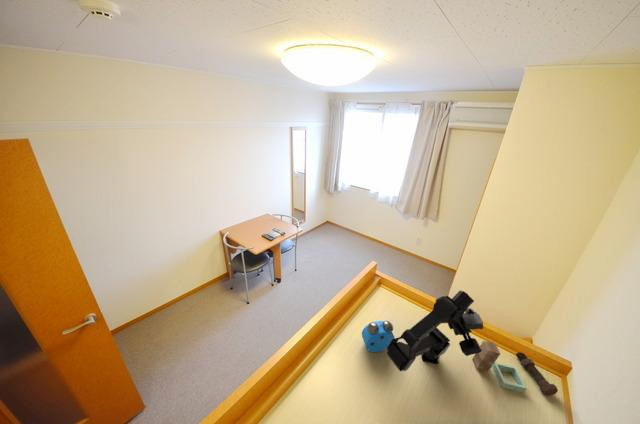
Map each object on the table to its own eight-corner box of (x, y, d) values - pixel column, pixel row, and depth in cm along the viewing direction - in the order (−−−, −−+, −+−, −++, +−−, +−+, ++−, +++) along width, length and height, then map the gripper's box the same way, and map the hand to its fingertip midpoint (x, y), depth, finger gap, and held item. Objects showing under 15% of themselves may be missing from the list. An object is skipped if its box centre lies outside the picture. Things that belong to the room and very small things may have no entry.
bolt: (517, 358, 101) (548, 397, 88) (510, 355, 100) (540, 393, 86) (528, 351, 99) (561, 390, 86) (521, 347, 98) (553, 386, 84)
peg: (476, 369, 94) (488, 350, 88) (472, 358, 98) (483, 340, 92) (487, 372, 94) (500, 353, 88) (483, 361, 97) (495, 343, 92)
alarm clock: (385, 337, 105) (392, 316, 98) (391, 350, 100) (398, 328, 93) (359, 341, 103) (363, 319, 96) (364, 355, 97) (369, 332, 91)
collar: (500, 386, 89) (503, 382, 88) (491, 366, 96) (494, 362, 95) (523, 392, 88) (526, 388, 86) (512, 371, 94) (515, 366, 93)
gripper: (485, 333, 77) (506, 359, 80) (463, 292, 93) (481, 315, 97) (454, 343, 81) (475, 367, 85) (438, 302, 98) (456, 324, 101)
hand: (472, 341), depth 92 cm, fingers open, 9 cm apart
